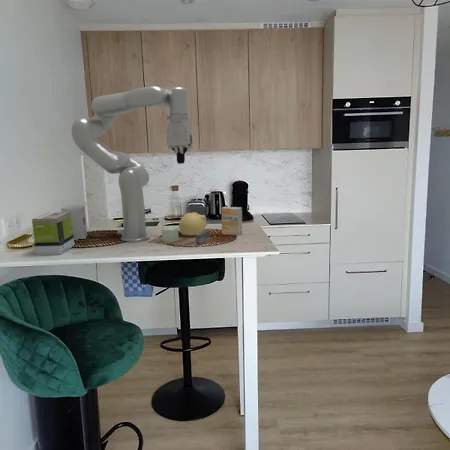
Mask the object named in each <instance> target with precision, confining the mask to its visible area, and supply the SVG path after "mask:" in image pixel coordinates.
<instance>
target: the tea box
mask: <svg viewBox="0 0 450 450" xmlns="http://www.w3.org/2000/svg"><path fill="white" fill-rule="evenodd" d="M31 221H32V222H31V223H32V225H31V226H32V230H33V238H34V239H33V240H34V245H35V246H34V247H35V254H36V256H57V255H58V256H59V255H62V254H63V253H65V252H66V251H68V250H70V249H71V248H73V247H75V246H76V243H75V241H74V234H73V226H72V217H71V212H60V211H59V212H46V213H44V214H41V215H40V216H39V215H38V216H37V217H34V218H32V219H31ZM74 245H75V246H74ZM72 246H73V247H72Z"/></svg>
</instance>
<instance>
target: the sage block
mask: <svg viewBox="0 0 450 450" xmlns="http://www.w3.org/2000/svg"><path fill="white" fill-rule="evenodd" d="M161 237H162V241H165V242H174V241H176V240H178V238H179V227H165V228H163V229H161Z"/></svg>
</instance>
